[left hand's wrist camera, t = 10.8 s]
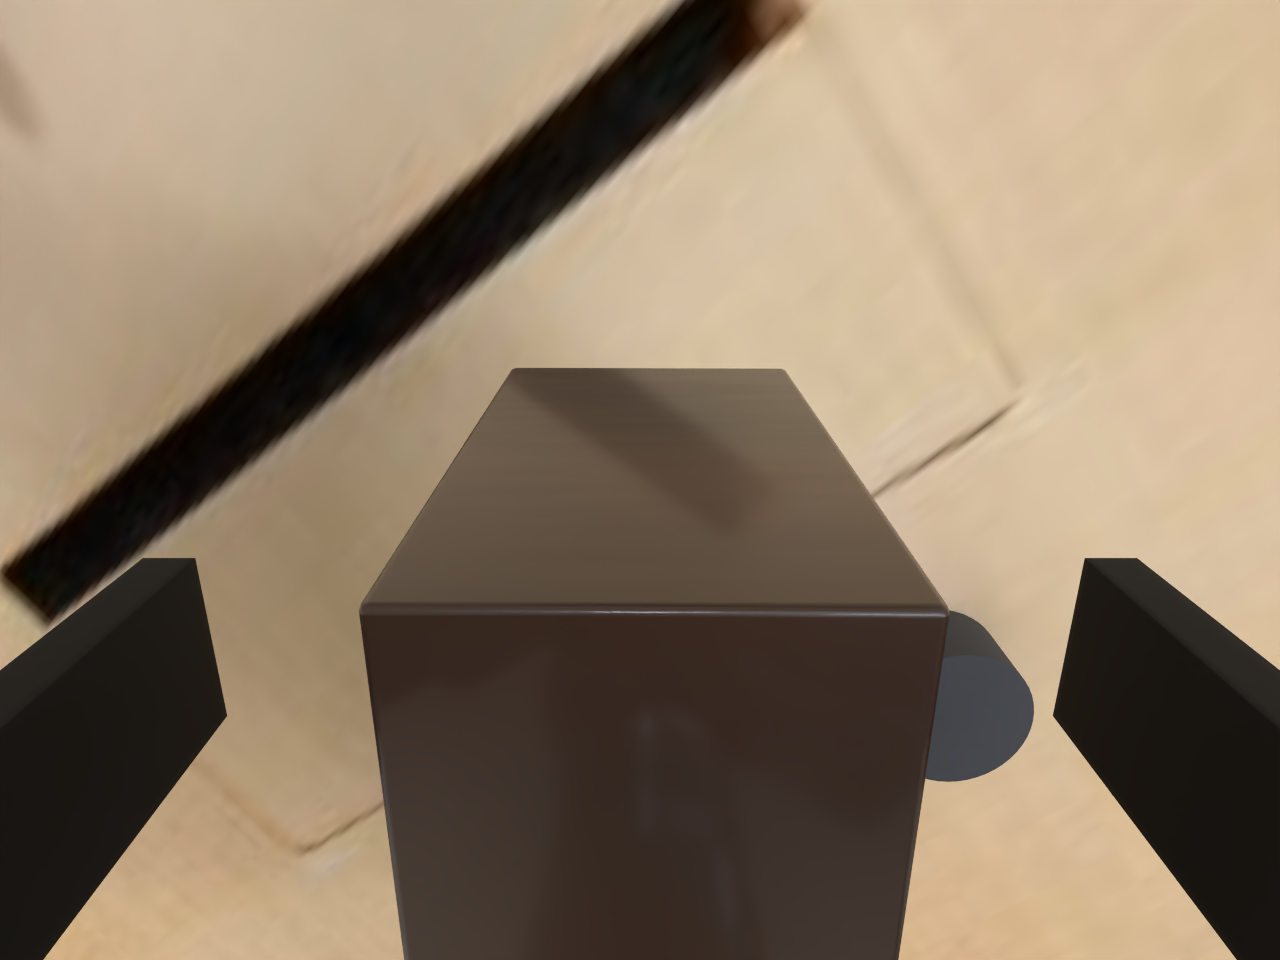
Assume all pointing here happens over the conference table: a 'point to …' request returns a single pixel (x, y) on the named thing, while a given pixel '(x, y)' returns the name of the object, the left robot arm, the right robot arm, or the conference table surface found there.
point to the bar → (652, 682)
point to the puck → (976, 705)
